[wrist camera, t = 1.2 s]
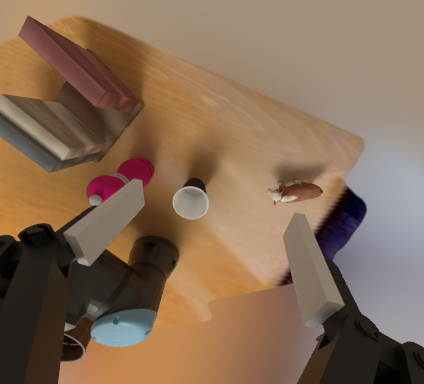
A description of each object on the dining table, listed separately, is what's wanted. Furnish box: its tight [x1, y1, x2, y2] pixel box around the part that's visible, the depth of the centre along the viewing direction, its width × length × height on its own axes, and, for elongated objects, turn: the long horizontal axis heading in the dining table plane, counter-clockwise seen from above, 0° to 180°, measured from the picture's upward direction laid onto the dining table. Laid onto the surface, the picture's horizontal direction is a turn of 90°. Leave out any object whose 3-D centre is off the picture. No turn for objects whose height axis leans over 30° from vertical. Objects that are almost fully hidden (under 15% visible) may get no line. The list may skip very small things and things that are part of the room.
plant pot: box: [61, 317, 94, 362], centre depth 55 cm, size 16×16×16 cm
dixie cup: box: [173, 178, 209, 219], centre depth 41 cm, size 8×8×11 cm
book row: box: [0, 16, 144, 173], centre depth 32 cm, size 19×14×14 cm
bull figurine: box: [267, 179, 323, 206], centre depth 42 cm, size 4×13×8 cm, turn 93°
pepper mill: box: [87, 158, 154, 206], centre depth 35 cm, size 7×7×20 cm
